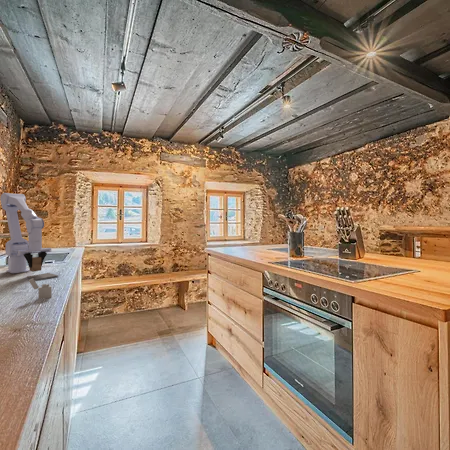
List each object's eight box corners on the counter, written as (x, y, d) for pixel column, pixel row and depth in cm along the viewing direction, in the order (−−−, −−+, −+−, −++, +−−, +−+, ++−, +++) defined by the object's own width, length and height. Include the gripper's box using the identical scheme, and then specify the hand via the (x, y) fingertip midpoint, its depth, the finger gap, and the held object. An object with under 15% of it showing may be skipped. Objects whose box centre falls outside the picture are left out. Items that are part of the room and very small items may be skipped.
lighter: (51, 296, 104) (51, 276, 103) (51, 297, 102) (51, 277, 102) (29, 299, 100) (29, 278, 100) (28, 300, 98) (28, 279, 98)
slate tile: (27, 277, 132) (27, 276, 132) (49, 274, 141) (49, 272, 141) (35, 280, 127) (35, 279, 127) (57, 277, 135) (57, 275, 135)
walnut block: (29, 270, 138) (29, 257, 138) (38, 269, 141) (38, 256, 141) (32, 271, 136) (32, 258, 135) (41, 270, 139) (41, 257, 139)
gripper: (21, 242, 130) (22, 269, 130) (53, 240, 142) (54, 265, 142) (16, 241, 133) (16, 268, 134) (47, 239, 146) (48, 264, 146)
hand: (35, 266), depth 138 cm, fingers closed on walnut block, 4 cm apart
